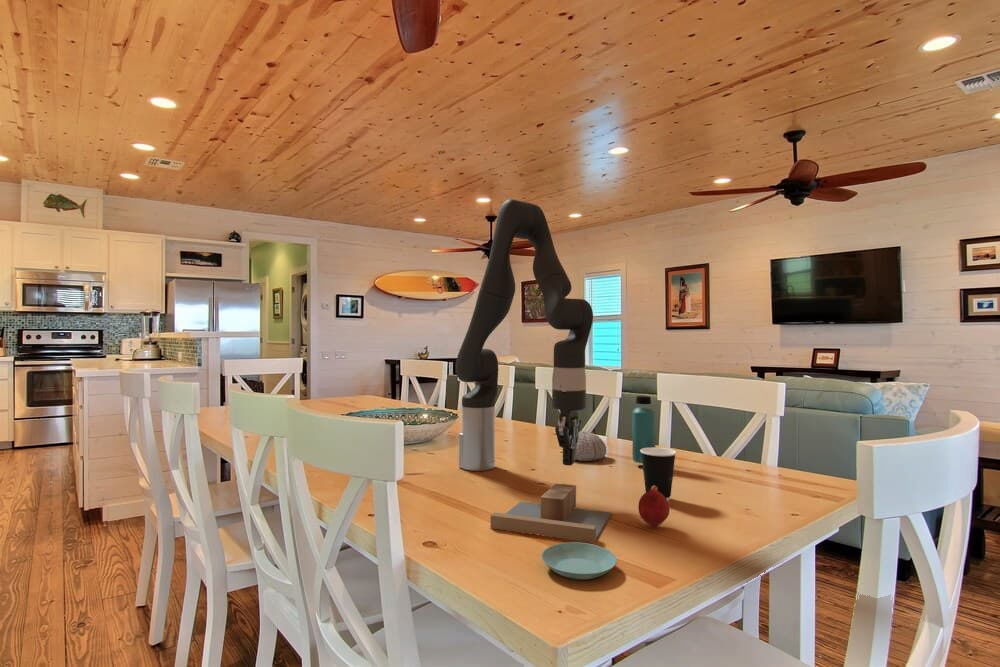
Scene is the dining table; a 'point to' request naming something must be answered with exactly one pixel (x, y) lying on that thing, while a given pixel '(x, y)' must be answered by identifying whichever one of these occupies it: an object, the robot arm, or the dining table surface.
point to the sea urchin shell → (589, 447)
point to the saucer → (579, 560)
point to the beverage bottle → (643, 428)
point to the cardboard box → (558, 502)
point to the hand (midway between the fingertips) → (568, 464)
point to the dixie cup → (658, 469)
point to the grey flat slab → (552, 522)
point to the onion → (653, 507)
